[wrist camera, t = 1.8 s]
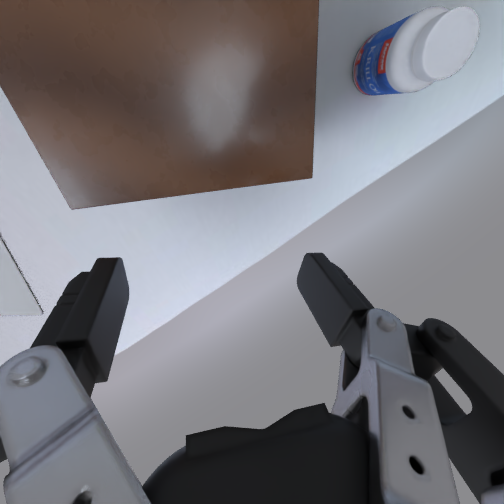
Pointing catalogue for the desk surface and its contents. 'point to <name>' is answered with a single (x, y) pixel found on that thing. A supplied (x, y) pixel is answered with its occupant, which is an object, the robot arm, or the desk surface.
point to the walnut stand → (162, 93)
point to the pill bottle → (416, 51)
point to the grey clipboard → (14, 289)
